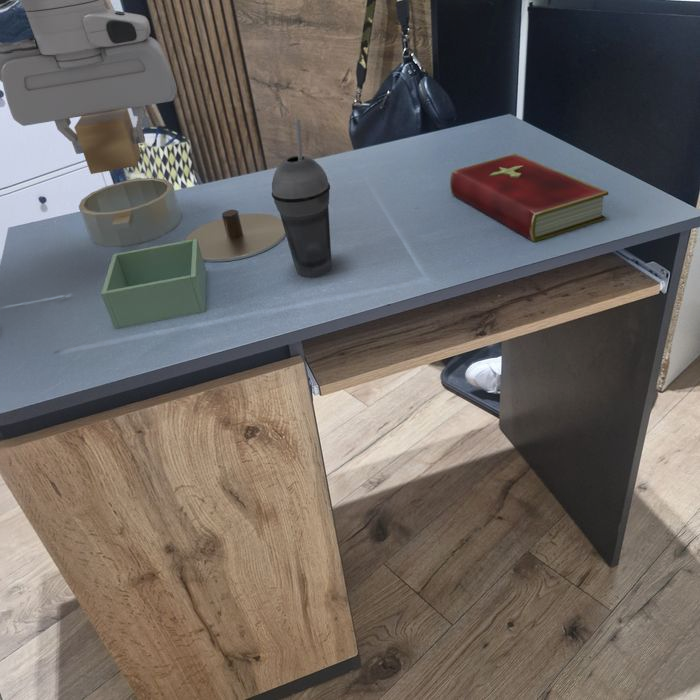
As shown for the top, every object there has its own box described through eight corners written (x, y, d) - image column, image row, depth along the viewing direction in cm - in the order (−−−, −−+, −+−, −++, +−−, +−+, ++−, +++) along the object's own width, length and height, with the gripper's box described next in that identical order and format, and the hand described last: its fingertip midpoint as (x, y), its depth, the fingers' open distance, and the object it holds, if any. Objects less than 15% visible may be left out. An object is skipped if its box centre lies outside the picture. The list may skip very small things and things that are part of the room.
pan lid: (183, 274, 90) (174, 244, 87) (186, 230, 102) (178, 203, 100) (292, 253, 91) (287, 223, 88) (282, 212, 104) (277, 185, 101)
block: (90, 174, 83) (74, 127, 79) (97, 160, 88) (81, 115, 84) (137, 166, 83) (122, 119, 80) (141, 152, 88) (127, 107, 85)
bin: (116, 332, 78) (100, 294, 75) (125, 290, 88) (112, 253, 85) (206, 315, 79) (195, 276, 76) (207, 274, 89) (197, 238, 85)
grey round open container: (82, 264, 96) (68, 227, 93) (101, 215, 113) (89, 182, 109) (179, 246, 98) (168, 209, 94) (184, 200, 114) (174, 167, 111)
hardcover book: (531, 243, 85) (533, 213, 82) (450, 195, 101) (449, 169, 99) (605, 219, 88) (608, 190, 86) (514, 177, 104) (515, 151, 102)
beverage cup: (304, 257, 89) (278, 110, 78) (351, 263, 86) (331, 110, 75) (277, 282, 84) (245, 129, 73) (326, 289, 81) (300, 130, 70)
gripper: (-24, 50, 73) (25, 168, 81) (156, 21, 75) (187, 140, 83) (-9, 41, 78) (36, 154, 86) (159, 15, 80) (188, 127, 88)
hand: (111, 147), depth 84 cm, fingers closed on block, 6 cm apart
